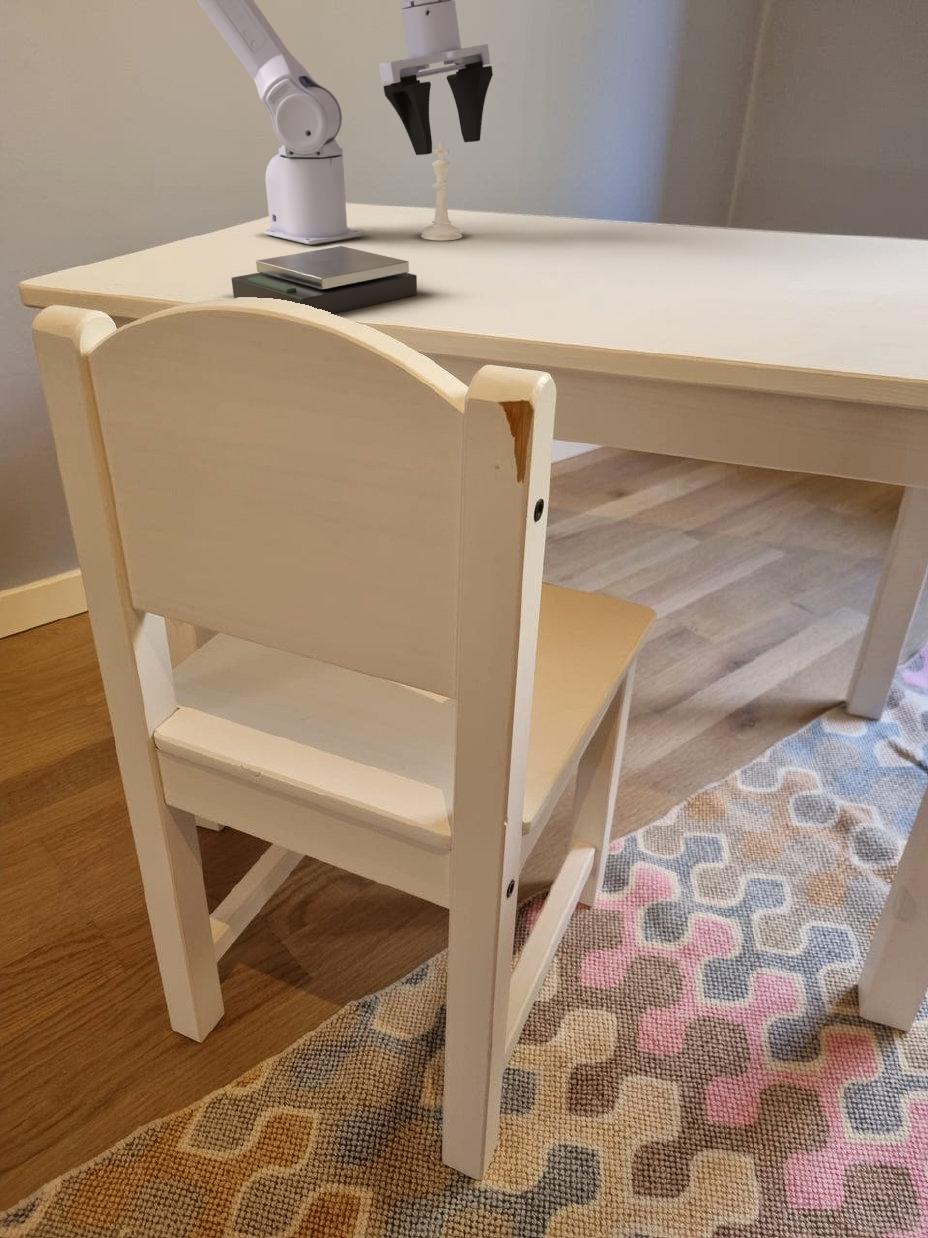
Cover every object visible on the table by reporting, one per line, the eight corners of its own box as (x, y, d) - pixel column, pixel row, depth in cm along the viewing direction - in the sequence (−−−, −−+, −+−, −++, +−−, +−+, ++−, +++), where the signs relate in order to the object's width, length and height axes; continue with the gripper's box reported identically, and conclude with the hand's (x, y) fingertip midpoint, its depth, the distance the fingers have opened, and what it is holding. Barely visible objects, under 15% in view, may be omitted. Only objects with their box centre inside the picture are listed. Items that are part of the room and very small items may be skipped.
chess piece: (457, 241, 108) (457, 145, 103) (416, 239, 109) (414, 144, 104) (465, 233, 112) (466, 141, 107) (426, 232, 113) (424, 140, 108)
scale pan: (256, 271, 85) (255, 260, 85) (342, 256, 91) (341, 245, 91) (322, 290, 79) (321, 278, 79) (409, 272, 85) (409, 261, 85)
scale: (233, 297, 85) (230, 273, 84) (344, 275, 93) (342, 253, 92) (304, 320, 79) (302, 294, 77) (417, 294, 86) (416, 271, 85)
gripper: (401, 6, 91) (425, 158, 98) (502, -8, 99) (517, 133, 106) (357, 16, 95) (383, 160, 103) (457, 2, 103) (474, 137, 110)
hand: (448, 147), depth 104 cm, fingers open, 7 cm apart
